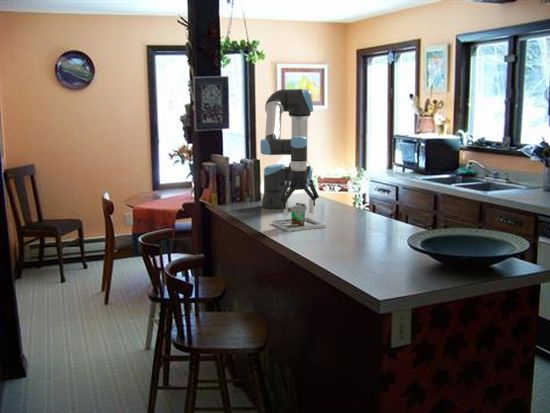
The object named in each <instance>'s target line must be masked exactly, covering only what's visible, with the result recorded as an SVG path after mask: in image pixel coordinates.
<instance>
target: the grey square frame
mask: <svg viewBox="0 0 550 413" xmlns="http://www.w3.org/2000/svg"><path fill="white" fill-rule="evenodd" d="M304 222H309V223H312V224H311V225H310V224H309V225H304V226H300V227H292V226H291V227H289V226H286V225H285V224H290V223H291V224H292V218H287V219H278V220H271V225H273V226H275V227H277V228H280V229H281V230H284V231H286V232H295V231H296V232H297V231H304V230H305V231H306V230H313V229H316V230H317V229H323V228H327V223H324V222H321V221H319V220H317V219H313V218H311V217H309V216H308V217H305V221H304Z"/></svg>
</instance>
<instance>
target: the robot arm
mask: <svg viewBox="0 0 550 413" xmlns="http://www.w3.org/2000/svg"><path fill="white" fill-rule="evenodd" d="M312 98H313V97H312V92H311V89H306V88H305V89H304V88H293V89H292V88H290V89H289V88H288V89H278V90H276V91H275V92H273V93H272V94H271V95H269V97H268V98H267V99H266V102H265V106H264V110H265V113H266V119H265V120H266V122H265V133H264V134H265V135H264V138H263V139H261V140H260V154H261V155H265V156H281V155H282V156H290V162H289V163H288V166H286V164H284V163H278V164H276V163H275V164H270V165H267V166H265V167H264V169H263V194H262V198H261V201H260V207H261V208H264V209H269V210H270V209H273V210H274V209H275V210H276V209H283V216H285V217H288V214H289V213H288V212H289V211H288V210H289V209H288V208H289V201H288V200H289V198H290V197H291V196H292V194H293V193H294V192H295V191H299V190H300V191H301V190H302V191H304V192H305V193H306V195H308V197H309V198H310V199H308V201H309V205H308V206H309V208H308V209H309V210H308V212H309V213H308V214H314V207H315V206H316V200H317V199H319V197H320V196H319V194H318V192H317V190H316V187H315V185H314V180H313V179H312V178H313V166H311V164H310V162H309V161H308V130H309V129H308V125H309V124H308V122H309V121H308V119H309V117H311V113H313V112H314V107H313V105H314V104H313V99H312ZM284 112H286V113H287V112H288V116H289V117H290V118H291V137H290V138H288V139H287V138H281V135H282V114H283V113H284Z"/></svg>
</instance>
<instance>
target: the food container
mask: <svg viewBox="0 0 550 413" xmlns="http://www.w3.org/2000/svg"><path fill="white" fill-rule="evenodd" d="M290 211H291V219H292V223H291V227H300V226H305V222H306V221H305V218H306V211H307V205H306V204H305V203H302V202H296V203H295V205H293V206H291V207H290Z"/></svg>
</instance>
